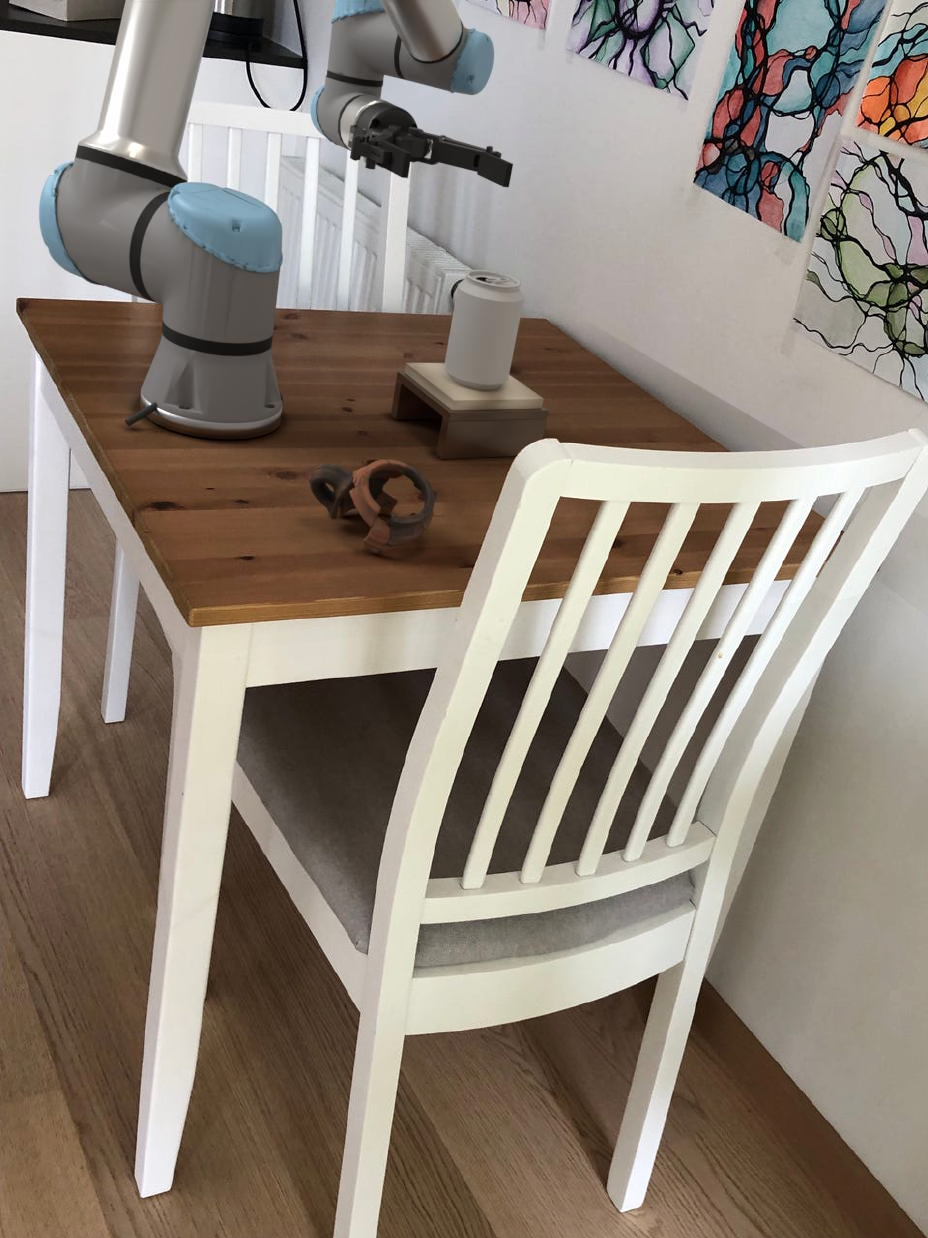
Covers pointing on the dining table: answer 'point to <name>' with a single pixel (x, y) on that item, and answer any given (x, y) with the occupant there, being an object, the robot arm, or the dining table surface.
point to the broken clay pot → (374, 499)
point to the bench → (470, 412)
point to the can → (484, 329)
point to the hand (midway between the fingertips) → (458, 170)
